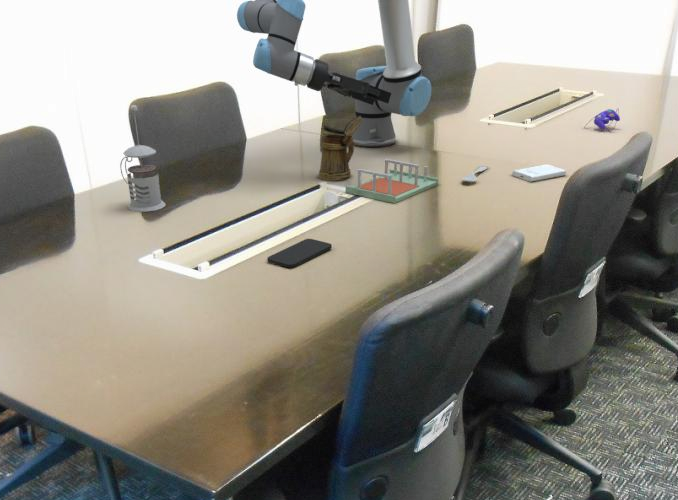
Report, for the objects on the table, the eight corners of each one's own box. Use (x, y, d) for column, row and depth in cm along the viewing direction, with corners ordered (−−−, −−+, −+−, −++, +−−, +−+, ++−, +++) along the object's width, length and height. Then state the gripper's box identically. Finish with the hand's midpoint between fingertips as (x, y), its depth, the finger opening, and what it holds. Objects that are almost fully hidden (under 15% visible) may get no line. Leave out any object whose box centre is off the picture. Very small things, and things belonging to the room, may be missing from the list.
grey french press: (148, 213, 197) (134, 110, 184) (114, 207, 202) (98, 106, 189) (173, 203, 204) (161, 103, 191) (140, 197, 209) (127, 99, 196)
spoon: (458, 185, 214) (458, 179, 213) (477, 166, 229) (478, 160, 229) (473, 186, 212) (473, 180, 211) (491, 167, 228) (492, 162, 227)
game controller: (609, 122, 259) (586, 112, 264) (605, 144, 265) (583, 133, 271) (630, 110, 261) (606, 99, 267) (626, 131, 267) (603, 120, 273)
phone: (264, 258, 167) (307, 237, 177) (264, 261, 167) (307, 241, 177) (291, 265, 163) (333, 244, 173) (291, 269, 163) (334, 247, 173)
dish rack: (345, 192, 209) (345, 168, 206) (390, 175, 223) (391, 152, 220) (394, 203, 201) (395, 178, 197) (438, 184, 214) (439, 161, 211)
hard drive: (565, 176, 219) (531, 182, 215) (545, 169, 226) (511, 175, 221) (566, 170, 219) (532, 176, 214) (546, 163, 225) (512, 169, 220)
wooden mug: (349, 185, 215) (349, 117, 206) (312, 177, 223) (311, 111, 213) (368, 178, 221) (370, 112, 211) (332, 170, 228) (332, 106, 219)
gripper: (296, 89, 220) (364, 114, 227) (317, 84, 198) (391, 112, 204) (304, 62, 219) (372, 87, 225) (326, 54, 196) (401, 82, 202)
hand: (381, 99), depth 215 cm, fingers open, 13 cm apart
